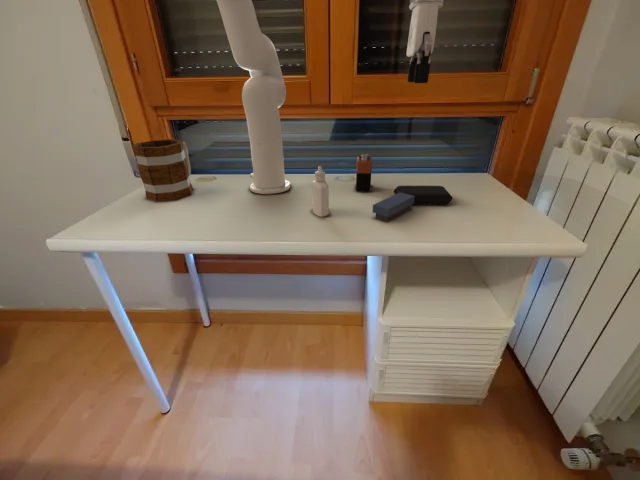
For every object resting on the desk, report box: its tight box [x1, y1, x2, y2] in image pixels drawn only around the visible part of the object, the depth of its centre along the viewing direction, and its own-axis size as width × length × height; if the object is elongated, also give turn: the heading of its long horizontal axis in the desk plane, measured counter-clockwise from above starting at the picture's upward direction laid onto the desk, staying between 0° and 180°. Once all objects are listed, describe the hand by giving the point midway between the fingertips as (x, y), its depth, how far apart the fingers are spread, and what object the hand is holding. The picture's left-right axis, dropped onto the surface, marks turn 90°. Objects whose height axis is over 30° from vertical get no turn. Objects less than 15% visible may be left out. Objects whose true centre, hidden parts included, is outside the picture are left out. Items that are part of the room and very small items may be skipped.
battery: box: [355, 153, 373, 193], centre depth 96 cm, size 4×7×10 cm, turn 173°
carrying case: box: [393, 185, 454, 205], centre depth 89 cm, size 11×3×15 cm
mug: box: [131, 138, 194, 203], centre depth 96 cm, size 20×14×15 cm
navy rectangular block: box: [372, 193, 415, 223], centre depth 80 cm, size 12×4×4 cm, turn 136°
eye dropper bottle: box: [311, 165, 330, 218], centre depth 79 cm, size 4×6×12 cm
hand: (416, 82), depth 82 cm, fingers open, 9 cm apart
